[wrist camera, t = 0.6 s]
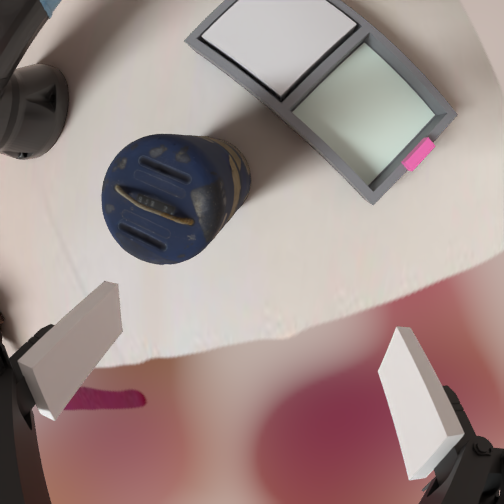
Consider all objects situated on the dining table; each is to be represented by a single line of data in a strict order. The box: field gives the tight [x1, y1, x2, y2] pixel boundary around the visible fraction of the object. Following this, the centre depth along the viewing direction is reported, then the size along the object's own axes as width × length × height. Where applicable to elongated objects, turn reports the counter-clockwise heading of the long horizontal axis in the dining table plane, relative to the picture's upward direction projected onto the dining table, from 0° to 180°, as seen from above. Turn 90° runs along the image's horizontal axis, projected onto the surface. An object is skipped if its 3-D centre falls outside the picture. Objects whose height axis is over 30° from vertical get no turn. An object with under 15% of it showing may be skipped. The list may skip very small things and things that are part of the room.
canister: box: [102, 134, 251, 265], centre depth 27 cm, size 10×10×18 cm
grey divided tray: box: [184, 0, 457, 205], centre depth 28 cm, size 27×15×5 cm, turn 48°
